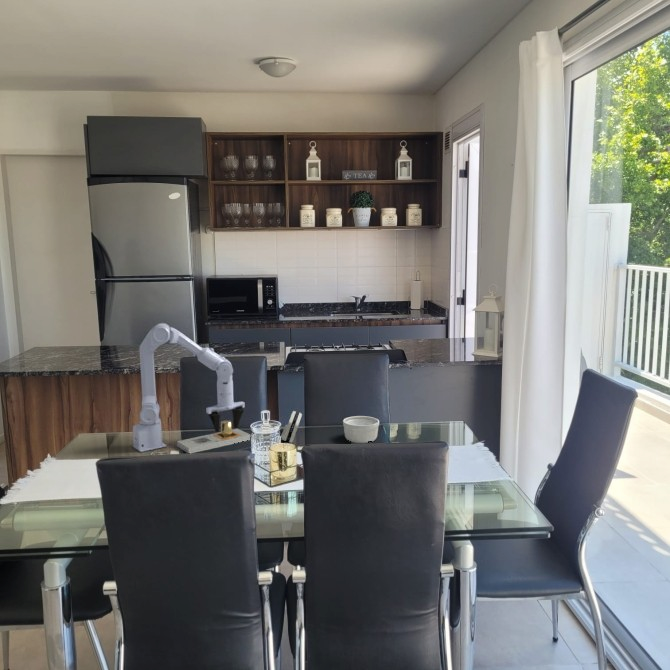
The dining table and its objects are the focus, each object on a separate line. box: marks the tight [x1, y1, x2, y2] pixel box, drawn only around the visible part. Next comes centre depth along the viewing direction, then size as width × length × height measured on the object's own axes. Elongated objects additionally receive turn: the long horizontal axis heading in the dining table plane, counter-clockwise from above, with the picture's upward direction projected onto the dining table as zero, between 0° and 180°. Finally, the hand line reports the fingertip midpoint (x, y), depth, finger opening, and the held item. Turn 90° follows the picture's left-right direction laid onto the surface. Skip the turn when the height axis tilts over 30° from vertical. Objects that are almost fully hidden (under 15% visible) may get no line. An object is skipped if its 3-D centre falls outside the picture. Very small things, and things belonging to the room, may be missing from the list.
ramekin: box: [342, 415, 380, 444], centre depth 213 cm, size 13×13×7 cm
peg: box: [220, 420, 233, 438], centre depth 213 cm, size 4×4×7 cm
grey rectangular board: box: [176, 428, 252, 454], centre depth 210 cm, size 24×10×2 cm, turn 128°
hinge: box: [280, 410, 303, 443], centre depth 218 cm, size 17×5×10 cm, turn 178°
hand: (226, 429), depth 213 cm, fingers open, 7 cm apart
